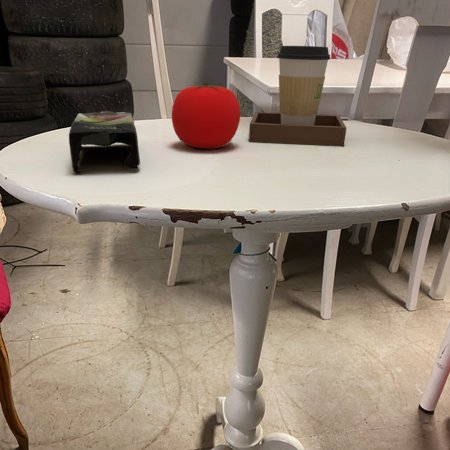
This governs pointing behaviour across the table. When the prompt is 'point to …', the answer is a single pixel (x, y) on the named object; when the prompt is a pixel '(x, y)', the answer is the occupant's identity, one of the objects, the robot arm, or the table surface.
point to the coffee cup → (301, 82)
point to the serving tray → (297, 130)
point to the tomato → (205, 116)
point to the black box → (103, 134)
